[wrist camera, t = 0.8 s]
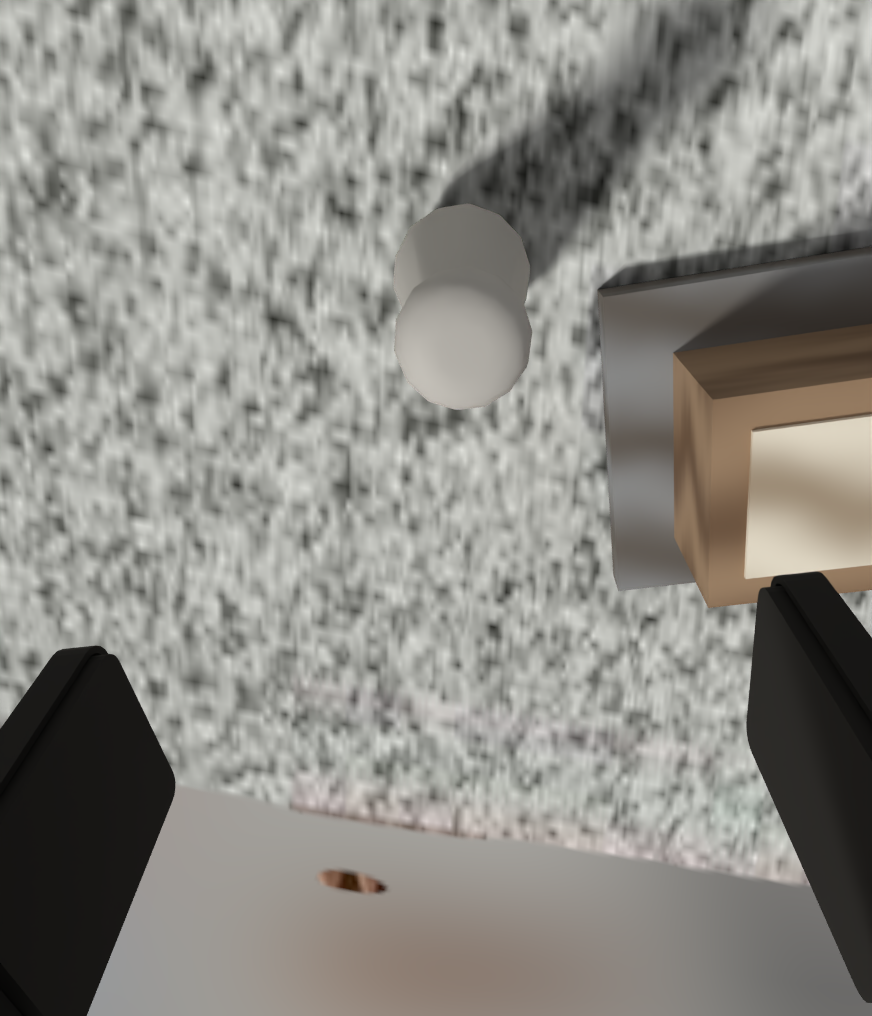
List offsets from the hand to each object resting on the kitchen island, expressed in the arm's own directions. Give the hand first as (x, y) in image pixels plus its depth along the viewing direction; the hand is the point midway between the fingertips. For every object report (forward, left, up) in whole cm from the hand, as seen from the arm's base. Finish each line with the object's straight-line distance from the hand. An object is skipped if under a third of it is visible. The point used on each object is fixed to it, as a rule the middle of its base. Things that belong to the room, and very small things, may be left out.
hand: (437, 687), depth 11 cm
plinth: (+9, +15, -26) cm, 31 cm away
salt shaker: (-1, +1, -26) cm, 26 cm away
